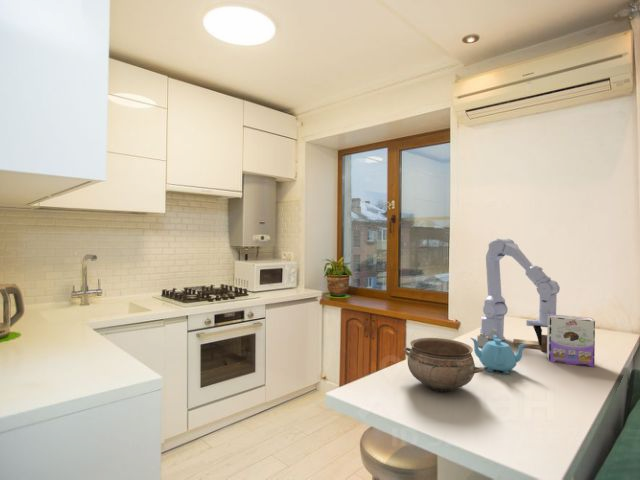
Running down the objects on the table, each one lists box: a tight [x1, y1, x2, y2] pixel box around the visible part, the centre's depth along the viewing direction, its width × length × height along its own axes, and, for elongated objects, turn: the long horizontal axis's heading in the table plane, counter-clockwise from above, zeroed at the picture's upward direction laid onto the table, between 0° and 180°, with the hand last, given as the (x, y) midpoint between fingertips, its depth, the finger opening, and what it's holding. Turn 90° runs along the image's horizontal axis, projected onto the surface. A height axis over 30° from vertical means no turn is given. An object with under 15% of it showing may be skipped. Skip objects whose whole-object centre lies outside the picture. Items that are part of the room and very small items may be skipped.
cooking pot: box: [402, 337, 485, 393], centre depth 111 cm, size 25×19×12 cm
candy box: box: [546, 314, 596, 368], centre depth 135 cm, size 14×6×16 cm, turn 65°
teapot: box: [470, 334, 527, 375], centre depth 127 cm, size 13×13×10 cm
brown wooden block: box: [539, 334, 547, 353], centre depth 151 cm, size 4×8×6 cm, turn 160°
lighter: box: [476, 329, 497, 348], centre depth 152 cm, size 7×2×8 cm, turn 46°
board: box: [513, 338, 540, 350], centre depth 154 cm, size 15×6×2 cm, turn 69°
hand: (546, 345), depth 149 cm, fingers closed on brown wooden block, 4 cm apart
